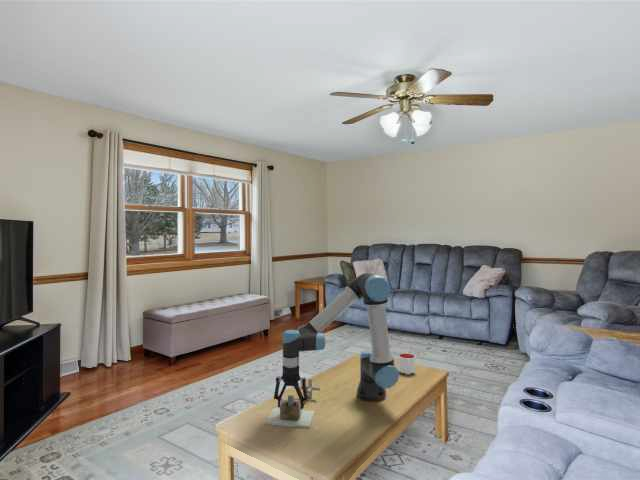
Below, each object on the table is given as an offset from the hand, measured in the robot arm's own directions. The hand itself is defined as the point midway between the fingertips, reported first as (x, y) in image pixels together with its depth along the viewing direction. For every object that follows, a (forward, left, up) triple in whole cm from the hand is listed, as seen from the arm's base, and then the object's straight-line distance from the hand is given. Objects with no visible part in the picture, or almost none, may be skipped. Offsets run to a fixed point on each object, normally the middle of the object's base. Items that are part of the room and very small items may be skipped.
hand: (290, 414), depth 173 cm
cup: (-57, -68, -2) cm, 89 cm away
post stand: (0, 0, -2) cm, 2 cm away
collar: (0, 0, 0) cm, 0 cm away
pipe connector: (-5, -23, -2) cm, 24 cm away
